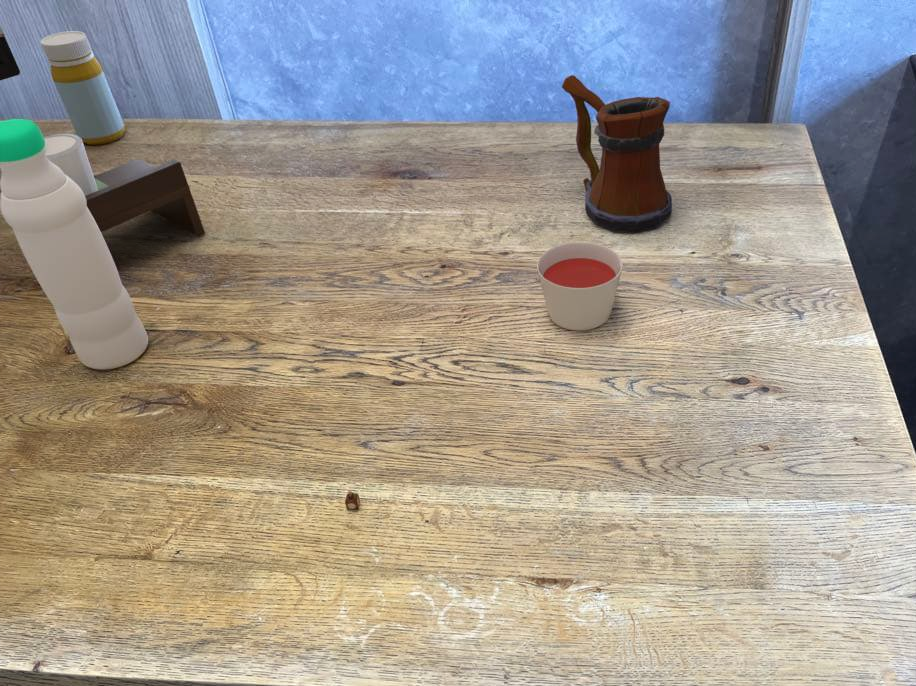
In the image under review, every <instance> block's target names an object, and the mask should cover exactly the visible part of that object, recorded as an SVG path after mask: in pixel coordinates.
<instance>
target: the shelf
mask: <svg viewBox="0 0 916 686" xmlns="http://www.w3.org/2000/svg"><path fill="white" fill-rule="evenodd" d="M93 176H94V179H95V182H96V185H97V188H98V191H96V192H93V193H91V194H88V195H86V196H85V198H86V202H87V208H88V209H89V211H90V213H91V214H92V216H93V218H94V220H95V222H96V224H97V226H98V227H99V230H100V232H101V233H104V232H106V231H108V230H110V229H112V228H115V227H117V226H119V225H121V224H124V223H127V222H129V221H131V220H133V219H136V218H138V217H140V216H142V215H144V214H147V213H149V212H152V213H154V214H155V215H157V216H158V217H161V218H162V219H164V220H166V221H167V222H169V223H171V224H173V225H174V226H177V227H178V228H180V229H182V230H183V231H185V232H187V233H189V234H191V235H192V236H194V237H195V238H200V237H202V236H204V235H206V232H205V228H204V227H203V223H202V220H201V218H200V217H201V216H200V215H199V211H198V209H197V206H196V203H195V201H194V197H193V194H192V191H191V188H190V185H189V182H188V180H187V178H186V175H185V172H184V168H183V166H182V163H181V161H179V160H177V159H172V160H170V161H167V162H165V163H163V164H160V165H157V166H153V165H152V164H149V163H148V162H145V161H143V160H142V159H140V158H137V159H134V160H131V161H129V162H126V163H124V164H121V165H118V166H116V167H114V168H111V169H108V170H105V171H104V172H101V173H98V174H96V175H93Z"/></svg>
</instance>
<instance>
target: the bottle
mask: <svg viewBox="0 0 916 686" xmlns="http://www.w3.org/2000/svg"><path fill="white" fill-rule="evenodd" d="M40 45H41V47H42V50H43V52H44V54H45V57H46V58H47V61H48V63H49V65H50V75H51V78H52V81H53V83H54V85H55V88H56V90H57V93H58V94H59V98H60V100H61V102H62V105H63V106H64V109H65V112H66V113H67V116H68V118H69V120H70V123H71V125H72V127H73V129H74V132H75V135H77V136H79V137H80V138H82V141H83V144H86V145H90V146H100V145H106V144H109V143H113V142H115V141H117V140H119V139H121V138H122V137H123V136H124V133H125V131H126V127H125V124H124V122H123V119H122V116H121V113H120V111H119V108H118V106H117V104H116V101H115V98H114V96H113V93H112V90H111V88H110V85H109V82H108V80H107V78H106V74H105V73H104V70H103V68H102V65H101V64H100V62H99V61H98V60H97V58H95V55H94V52H93V50H92V47H91V44H90V41H89V40H88V37H87V35H86V33H84V32H83V31H78V30H69V31H61V32H57V33H52V34H49V35H47V36H45V37H43V38H42V39H41V40H40Z"/></svg>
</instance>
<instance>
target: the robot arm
mask: <svg viewBox="0 0 916 686" xmlns="http://www.w3.org/2000/svg"><path fill="white" fill-rule="evenodd" d="M20 74H21V70H20V67H19V66H18V63H17V61H16V58H15V56H14V54H13V51H12V50H11V47H10V45H9V43H8V40H7V38H6V36H5V33H4V30H3V28H2V26H0V81H4V80H7V79H9V78H15V77H16V76H19V75H20Z"/></svg>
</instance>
